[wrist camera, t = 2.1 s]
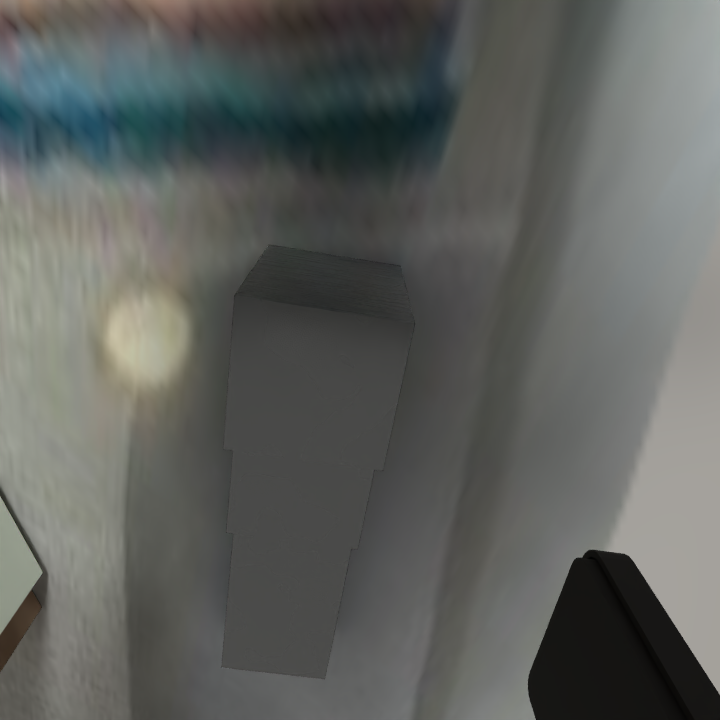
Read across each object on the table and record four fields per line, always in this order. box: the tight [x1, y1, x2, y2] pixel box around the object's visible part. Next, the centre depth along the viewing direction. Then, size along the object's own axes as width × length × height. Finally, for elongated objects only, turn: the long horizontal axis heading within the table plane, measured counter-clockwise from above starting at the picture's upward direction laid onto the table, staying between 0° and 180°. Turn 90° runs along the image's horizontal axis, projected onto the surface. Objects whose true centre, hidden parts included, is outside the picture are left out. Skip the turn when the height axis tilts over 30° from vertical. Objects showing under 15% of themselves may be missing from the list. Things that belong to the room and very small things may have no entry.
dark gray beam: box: [221, 245, 415, 679], centre depth 18 cm, size 16×4×5 cm, turn 171°
